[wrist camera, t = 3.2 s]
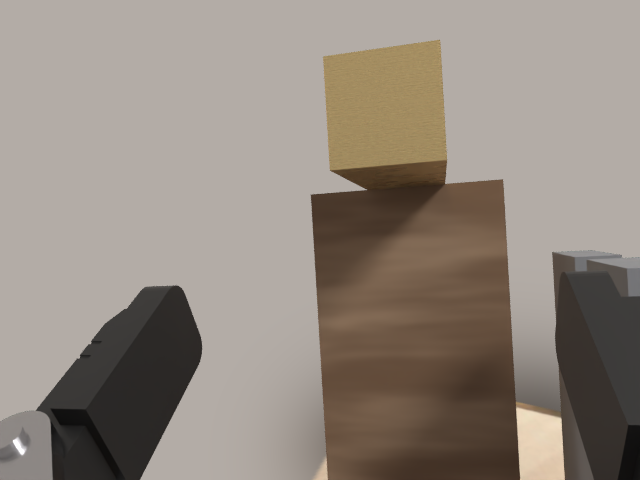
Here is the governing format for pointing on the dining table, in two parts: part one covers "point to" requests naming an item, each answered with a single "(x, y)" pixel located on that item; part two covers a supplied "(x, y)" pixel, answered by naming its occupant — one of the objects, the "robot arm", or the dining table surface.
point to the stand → (416, 333)
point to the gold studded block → (387, 116)
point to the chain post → (629, 281)
